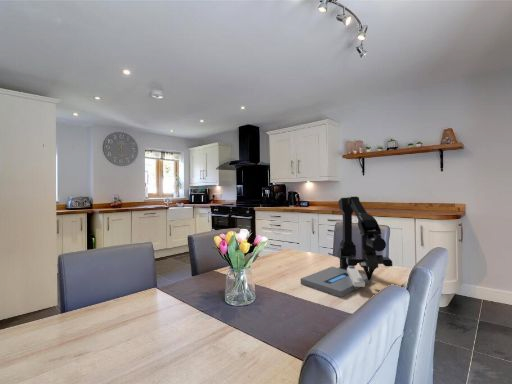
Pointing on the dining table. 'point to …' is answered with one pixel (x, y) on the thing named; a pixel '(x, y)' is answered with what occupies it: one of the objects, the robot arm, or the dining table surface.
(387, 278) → the dining table surface
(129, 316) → the dining table surface
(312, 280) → the board
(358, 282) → the bar
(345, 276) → the blue bar
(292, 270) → the dining table surface
